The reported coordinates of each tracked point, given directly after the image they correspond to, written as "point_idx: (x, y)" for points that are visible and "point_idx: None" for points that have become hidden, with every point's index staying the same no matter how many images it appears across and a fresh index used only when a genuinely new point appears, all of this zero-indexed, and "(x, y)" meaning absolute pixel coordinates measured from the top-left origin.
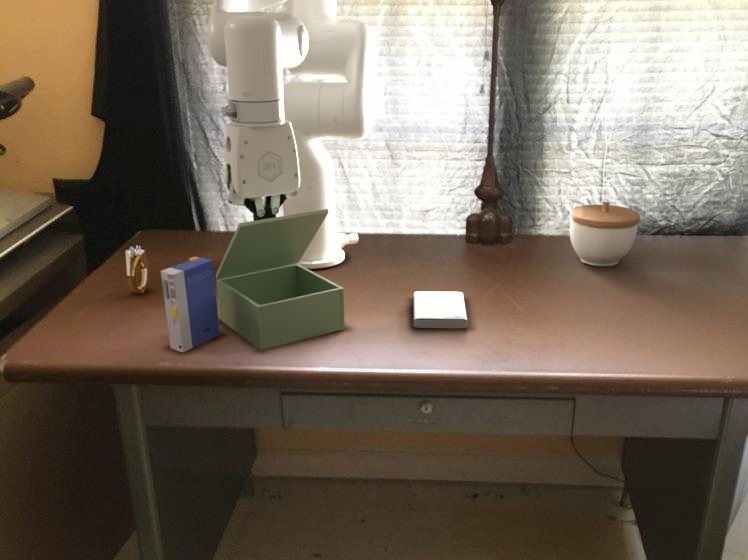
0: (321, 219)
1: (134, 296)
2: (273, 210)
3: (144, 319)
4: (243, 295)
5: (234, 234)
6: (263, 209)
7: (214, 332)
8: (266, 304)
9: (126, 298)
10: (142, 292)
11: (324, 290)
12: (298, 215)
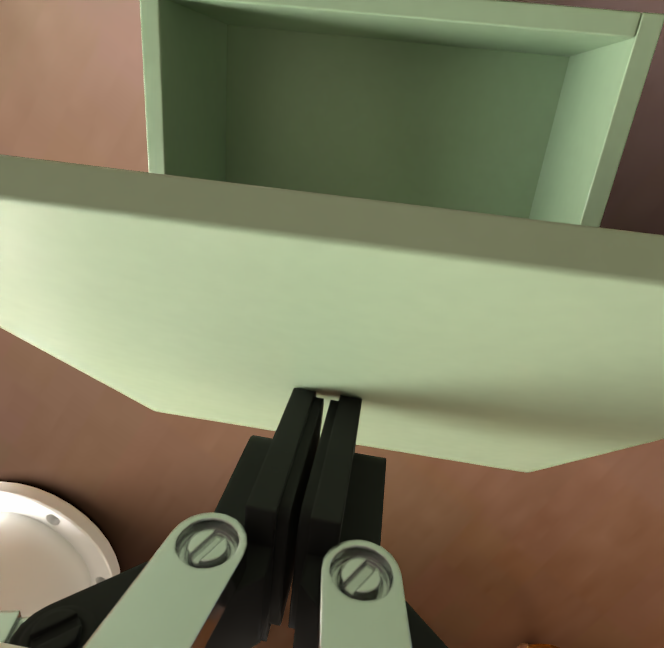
0: None
1: (553, 641)
2: (227, 549)
3: (654, 513)
4: (585, 224)
5: None
6: (327, 590)
7: None
8: (601, 22)
9: (578, 643)
10: (527, 644)
11: (185, 147)
12: (109, 187)
